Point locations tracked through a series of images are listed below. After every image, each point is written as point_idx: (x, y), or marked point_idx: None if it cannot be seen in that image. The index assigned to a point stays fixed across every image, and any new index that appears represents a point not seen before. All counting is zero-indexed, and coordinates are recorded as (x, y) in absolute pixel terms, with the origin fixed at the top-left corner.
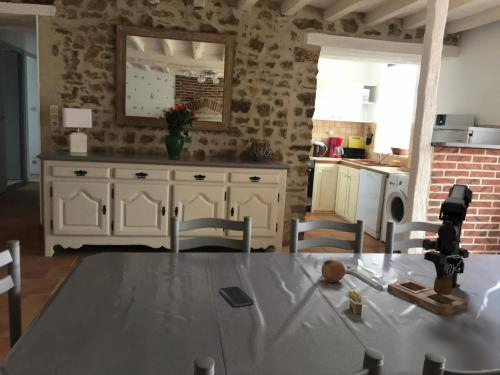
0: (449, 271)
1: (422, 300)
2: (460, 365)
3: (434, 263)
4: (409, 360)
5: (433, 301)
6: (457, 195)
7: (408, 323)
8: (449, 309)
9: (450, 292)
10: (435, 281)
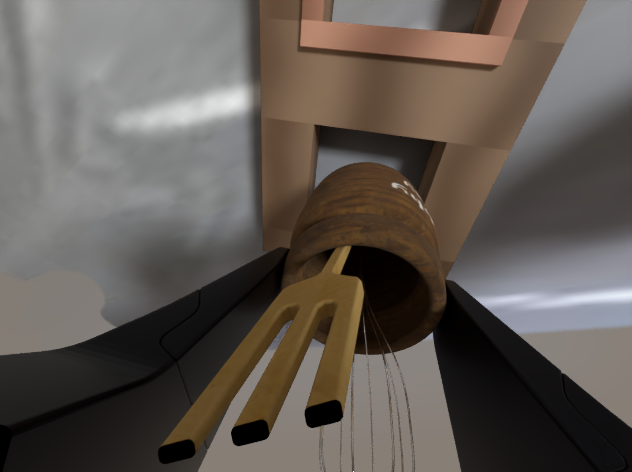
0: (450, 344)
1: (263, 135)
2: (111, 322)
3: (53, 367)
4: (20, 264)
5: (291, 186)
6: None
7: (106, 183)
8: None
9: (356, 265)
10: (306, 206)
